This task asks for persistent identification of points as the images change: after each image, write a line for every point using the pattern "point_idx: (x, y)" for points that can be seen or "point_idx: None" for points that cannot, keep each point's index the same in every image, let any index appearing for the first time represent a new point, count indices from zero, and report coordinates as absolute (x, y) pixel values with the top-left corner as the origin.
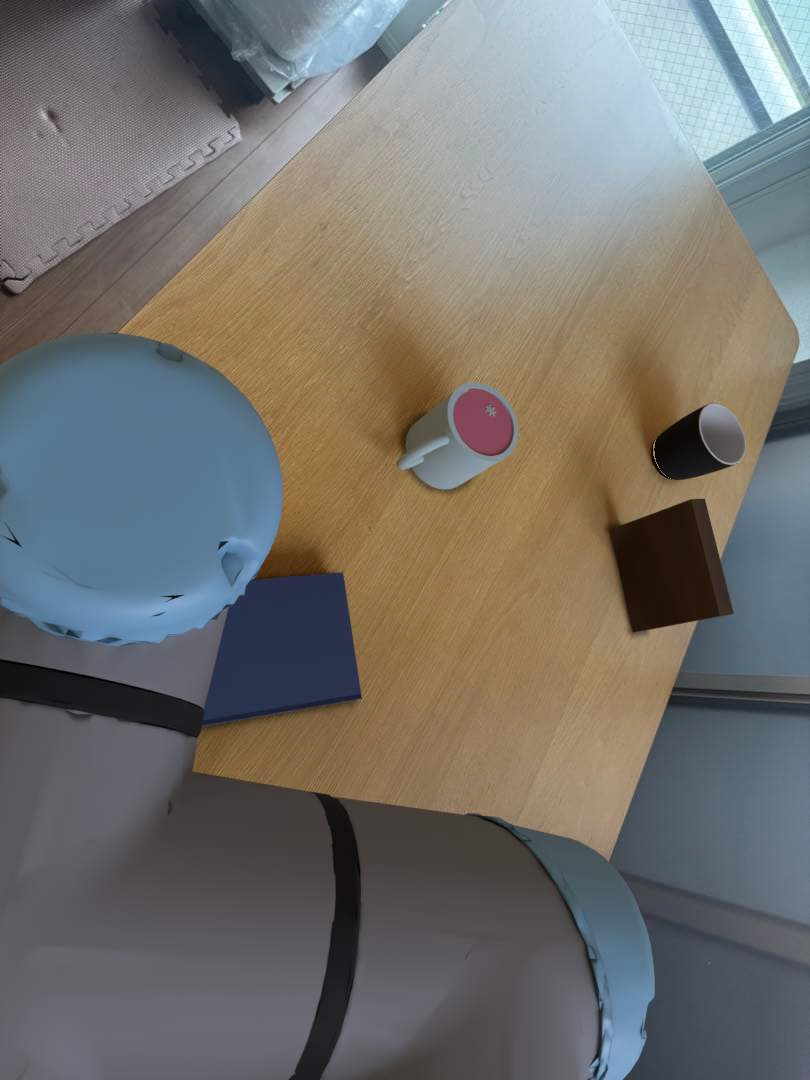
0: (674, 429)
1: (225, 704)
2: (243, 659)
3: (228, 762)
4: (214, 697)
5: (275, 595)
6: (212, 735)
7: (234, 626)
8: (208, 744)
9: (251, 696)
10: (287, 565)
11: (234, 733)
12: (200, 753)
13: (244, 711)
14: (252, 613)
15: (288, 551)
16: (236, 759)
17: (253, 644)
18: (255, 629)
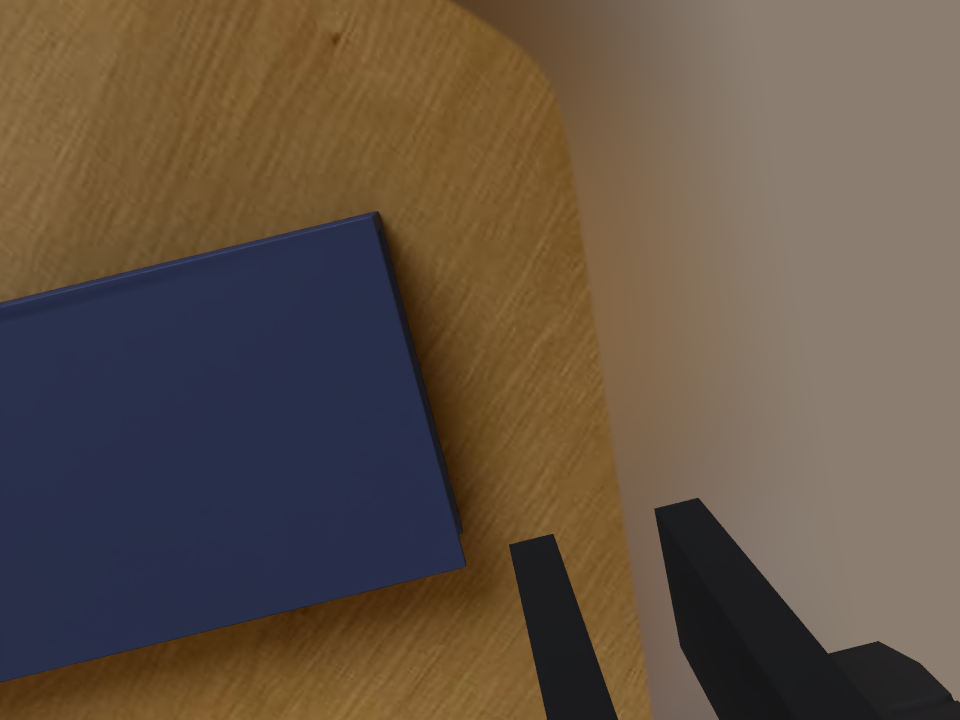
0: None
1: (73, 339)
2: (53, 462)
3: (46, 178)
4: (109, 355)
5: (7, 634)
6: (107, 246)
7: (101, 541)
8: (112, 222)
9: (3, 367)
10: (17, 678)
11: (49, 255)
12: (128, 198)
13: (13, 325)
14: (59, 580)
15: (23, 710)
16: (25, 187)
17: (35, 504)
18: (40, 543)
